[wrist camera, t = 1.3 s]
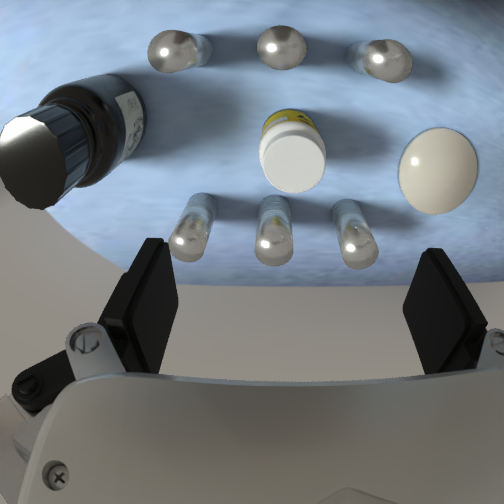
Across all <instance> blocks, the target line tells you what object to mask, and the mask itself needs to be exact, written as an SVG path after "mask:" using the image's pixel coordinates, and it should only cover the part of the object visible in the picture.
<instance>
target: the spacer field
mask: <svg viewBox="0 0 504 504" xmlns="http://www.w3.org/2000/svg"><path fill="white" fill-rule="evenodd" d="M306 50H307V47H306V42H305V40H304V38H303V36H302V35H301V34H300V33H299V32H298V31H297V30H295V29H293V28H291V27H288V26H274V27H271V28H269V29H267V30H266V31H264V32H263V33H262V35H261V36H260V38H259V40H258V43H257V51H258V55H259V57H260V59H261V60H262V61H263V62H264V63H265V64H266V65H267V66H269V67H271V68H273V69H276V70H289V69H292V68H294V67H296V66H298V65H299V64H300V63H301V62H302V61H303V59H304V58H305V55H306ZM212 51H213V49H212V45H211V42H210V41H209V40H208V39H207V38H206V37H204V36H202V35H197V34H193V33H188V32H182V31H177V30H167V31H163V32H161V33H159V34H158V35H156V36H155V37H154V38H153V39H152V41H151V42H150V44H149V47H148V59H149V62H150V64H151V65H152V66H153V67H154V68H155V69H156V70H158V71H160V72H163V73H173V72H177V71H182V70H186V69H191V68H195V67H200V66H202V65H204V64H205V63H207V62H208V61H209V59H210V58H211V56H212ZM346 57H347V62H348V64H349V66H350V67H351V68H352V69H353V70H354V71H355V72H357V73H360V74H363V75H366V76H370V77H373V78H376V79H380V80H383V81H386V82H390V83H398V82H401V81H403V80H405V79H406V78H407V77H408V76H409V74H410V73H411V70H412V57H411V54H410V52H409V51H408V49H407V48H406V47H405V46H404V45H403V44H401V43H400V42H398V41H395V40H391V39H385V40H371V41H360V42H356V43H354V44H352V45H351V46H350V47H349V49H348V51H347V55H346ZM217 210H218V205H217V202H216V200H215V199H214V198H213V197H212V196H210V195H209V194H206V193H197V194H195V195H193V196H192V197H191V198H190V199H189V201H188V203H187V205H186V207H185V209H184V211H183V213H182V215H181V217H180V219H179V220H178V222H177V224H176V226H175V228H174V230H173V232H172V234H171V236H170V239H169V241H168V244H169V249H170V252H171V254H172V255H173V256H174V257H175V258H177V259H178V260H180V261H183V262H195V261H197V260H199V259H200V258H201V257H202V256H203V253H204V250H205V247H206V244H207V241H208V238H209V235H210V232H211V229H212V226H213V222H214V219H215V216H216V213H217ZM331 217H332V221H333V224H334V228H335V231H336V235H337V238H338V242H339V245H340V249H341V253H342V257H343V260H344V262H345V264H346V265H347V266H348V267H350V268H352V269H357V270H358V269H365V268H367V267H369V266H371V265H372V264H373V263H374V262H375V261H376V259H377V257H378V254H379V250H378V247H377V244H376V242H375V240H374V237H373V235H372V233H371V231H370V228H369V226H368V224H367V222H366V220H365V217H364V215H363V213H362V211H361V209H360V207H359V205H358V204H357V203H356V202H355V201H353V200H351V199H343V200H340V201H338V202H337V203H336V204H335V205H334V206H333V208H332V210H331ZM255 255H256V257H257V258H258V260H259V261H260V262H262V263H263V264H265V265H268V266H280V265H283V264H285V263H287V262H288V261H289V260H290V259H291V257H292V255H293V238H292V224H291V211H290V205H289V202H288V201H287V200H286V199H285V198H284V197H282V196H279V195H270V196H267V197H265V198H264V199H263V200H262V201H261V203H260V205H259V213H258V223H257V233H256V243H255Z"/></svg>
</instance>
